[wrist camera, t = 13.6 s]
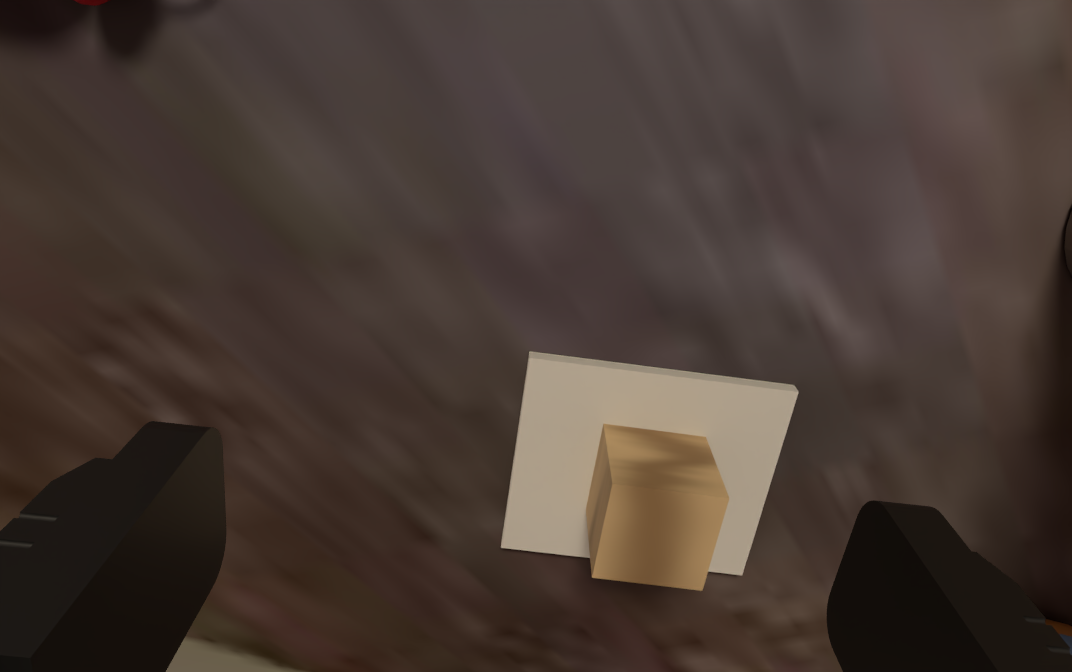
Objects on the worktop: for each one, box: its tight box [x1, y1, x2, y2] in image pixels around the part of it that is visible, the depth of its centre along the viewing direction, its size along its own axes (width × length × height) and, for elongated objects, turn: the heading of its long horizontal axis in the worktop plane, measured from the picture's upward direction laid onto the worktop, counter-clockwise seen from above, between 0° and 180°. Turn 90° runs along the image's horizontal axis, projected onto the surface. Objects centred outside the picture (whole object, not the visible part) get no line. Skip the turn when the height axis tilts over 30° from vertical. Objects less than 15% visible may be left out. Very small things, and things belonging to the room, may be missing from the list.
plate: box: [501, 351, 798, 575], centre depth 42 cm, size 14×12×1 cm
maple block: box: [586, 424, 729, 591], centre depth 39 cm, size 6×6×6 cm
